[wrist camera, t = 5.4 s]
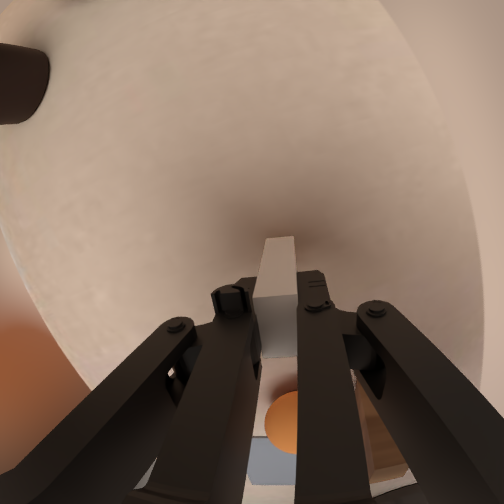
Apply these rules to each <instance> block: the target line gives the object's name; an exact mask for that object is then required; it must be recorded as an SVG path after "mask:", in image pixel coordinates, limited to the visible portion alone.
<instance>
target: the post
mask: <svg viewBox="0 0 504 504" xmlns="http://www.w3.org/2000/svg"><path fill="white" fill-rule="evenodd" d="M355 396H356V402H357V407H358V412H359V418H360V424H361V429H362V435H363V442H364V448H365V455H366V462H367V469H368V476H369V484H371V483H376V482H381V481H386V480H390V479H395V478H399V477H403V476H404V474H405V473H406V471H407V470H408V468H409V466H408V465H407V463H406V461H405V459H404V458H403V456H402V454H401V452H400V451H399V449H398V447H397V445H396V444H395V442H394V440H393V438H392V437H391V435H390V433H389V432H388V430H387V428H386V426H385V425H384V423H383V421H382V420H381V418H380V416H379V414H378V413H377V411H376V409H375V408H374V406H373V404H372V403H371V401H370V399H369V398H368V396H367V394H366V393H365V391H364V389H363V388H362V386H361V384H360V383H359V381H358V379H357V380H356V388H355Z"/></svg>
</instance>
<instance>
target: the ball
mask: <svg viewBox="0 0 504 504" xmlns="http://www.w3.org/2000/svg"><path fill="white" fill-rule="evenodd" d="M297 405H298V391H293V392H289V393H287V394H284V395H282V396H281V397H279V398H278V399H277V400H275V401H274V402H273V403H272V405H271V406H270V408H269V409H268V411H267V413H266V417H265V431H266V434H267V437H268V438H269V440H270V442H271V443H272V444H273V445H274V446H275V447H277V448H278V449H280V450H282V451H284V452H286V453H290V454H297Z"/></svg>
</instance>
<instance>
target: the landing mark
mask: <svg viewBox="0 0 504 504" xmlns="http://www.w3.org/2000/svg"><path fill="white" fill-rule="evenodd" d="M247 474H248V477H249V479H250V481H251V483H252V485H295V480H296V454H290V453H286V452H284V451H282V450H280V449H278V448H277V447H275V446H274V445H273V444H272V443H271V442H270V440H269V438H268V437H252V442H251V448H250V455H249V461H248V468H247Z"/></svg>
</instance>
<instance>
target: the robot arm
mask: <svg viewBox="0 0 504 504" xmlns="http://www.w3.org/2000/svg"><path fill="white" fill-rule="evenodd" d="M211 298H212V302H213V306H214V310H215V317H214V319H213V322H210V323H207V324H203V325H198V326H195V325H194V322H193V320H192V319H191V318H188V317H176V318H175V317H174V318H171V319H170V320H167V321H165V322H164V323H163V324H161V325H160V326H159V327H158V328H157V329H156V330H155V331H154V332H153V333H152V334H151V335H150V336H149V337H148V338H147V339H146V340H145V341H144V342H143V343H142V344H140V345H139V346H138V347H137V348H136V349H135V350H134V351H133V352H132V353H131V354H130V355H129V356H128V357H127V358H126V359H125V360H124V361H123V362H122V363H121V364H120V365H119V366H118V367H117V368H116V369H114V370H113V371H112V372H111V373H110V374H109V375H108V376H107V377H106V378H105V379H104V380H103V381H102V382H101V383H100V384H99V385H98V386H97V387H96V388H95V389H94V390H93V391H92V392H91V393H90V394H89V395H88V396H87V397H86V398H85V399H84V400H83V401H82V402H81V403H80V404H79V405H77V407H76V408H74V409H73V410H72V411H71V412H70V413H69V415H67V416H66V417H65V418H64V419H63V420H62V421H61V422H60V423H59V424H58V425H57V426H56V427H55V428H54V429H53V430H52V431H51V432H50V433H49V434H48V435H47V436H46V437H45V438H44V439H43V440H42V441H41V442H40V443H39V444H38V445H37V446H36V447H35V448H34V449H33V450H32V451H31V452H30V453H29V454H28V455H27V456H26V457H25V458H24V459H23V460H22V461H21V462H20V463H19V464H18V465H17V466H16V467H15V468H14V469H12V470H10V471H8V472H5V473H3V474H1V475H0V504H242V498H243V492H244V486H245V480H246V474H247V468H248V461H249V455H250V448H251V442H252V435H253V428H254V421H255V414H256V407H257V400H258V393H259V385H260V378H261V370H262V365H261V359H260V355H261V351H262V357H263V358H280V357H295V356H297V364H298V405H297V454H296V480H295V499H294V504H504V418H503V417H502V416H501V415H500V414H499V413H498V412H497V410H496V409H495V408H494V407H493V406H492V405H491V404H490V403H489V402H488V401H487V399H486V398H485V397H484V396H483V395H482V394H481V393H480V392H479V391H478V390H477V388H476V387H475V386H474V385H473V384H472V383H471V382H470V381H469V380H468V379H467V378H466V377H465V376H464V375H463V374H462V373H461V372H460V371H459V370H458V368H457V367H456V366H455V365H454V364H453V363H452V362H451V361H450V360H449V359H448V358H447V357H446V356H445V355H444V354H443V353H442V352H441V351H440V350H439V349H438V348H437V347H436V346H435V345H434V344H433V343H432V342H431V341H430V340H429V339H428V338H427V337H426V336H424V335H423V334H422V333H421V332H420V331H419V330H418V329H417V328H416V327H415V326H414V325H413V324H412V323H411V322H410V321H409V320H408V319H407V318H406V317H405V316H404V315H402V314H401V313H400V312H399V311H398V310H397V309H396V308H395V307H394V306H393V305H391V304H389V303H388V302H384V301H380V300H378V301H377V300H373V301H368V302H365V303H363V304H361V305H360V306H359V307H358V309H357V313H356V312H346V311H342V310H339V309H337V308H335V304H334V303H333V301H331V300H330V296H329V292H328V288H327V284H326V281H325V277H324V274H323V273H321V272H320V271H319V270H315V271H305V272H297V265H296V255H295V245H294V236H286V237H276V238H267V239H266V241H265V246H264V250H263V254H262V259H261V263H260V267H259V272H258V276H257V277H249V278H241V279H240V280H239V281H238V282H236V283H235V284H231V285H225V286H222V287H219V288H217V289H216V290H214V291H213V292H212V293H211ZM171 368H173V371H174V373H173V374H172V375H171V376H170V377H169V375H168V372H169V370H170V369H171ZM350 369H353V371H354V374H355V376H356V378H357V379H358V381H359V383H360V384H361V386H362V388H363V389H364V391H365V393H366V394H367V396H368V398H369V399H370V401H371V403H372V404H373V406H374V408H375V409H376V411H377V413H378V414H379V416H380V418H381V420H382V421H383V423H384V425H385V426H386V428H387V430H388V432H389V433H390V435H391V437H392V438H393V440H394V442H395V444H396V445H397V447H398V449H399V451H400V452H401V454H402V456H403V458H404V459H405V461H406V463H407V465H408V466H409V468H410V470H411V472H412V473H413V475H414V477H415V479H416V481H417V482H418V484H414V485H411V486H407V487H404V488H400V489H397V490H394V491H391V492H389V493H386V494H383V495H381V496H378V497H376V498H374V499H373V498H372V496H371V492H370V485H369V476H368V469H367V462H366V455H365V448H364V442H363V435H362V429H361V424H360V418H359V412H358V407H357V402H356V396H355V391H354V386H353V381H352V377H351V372H350ZM156 458H157V460H156V462H155V465H154V467H153V470H152V472H151V475H150V477H149V480H148V482H147V484H146V485H145V486H144V487H143V488H140V489H134V487H135V486H136V485H137V484H138V482H139V481H140V480H141V478H142V477H143V475H144V474H145V473H146V472H147V470H148V469H149V468H150V466H151V465H152V463H153V462H154V461H155V459H156ZM133 489H134V490H133Z"/></svg>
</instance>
